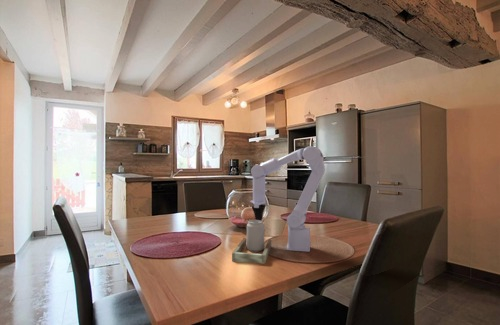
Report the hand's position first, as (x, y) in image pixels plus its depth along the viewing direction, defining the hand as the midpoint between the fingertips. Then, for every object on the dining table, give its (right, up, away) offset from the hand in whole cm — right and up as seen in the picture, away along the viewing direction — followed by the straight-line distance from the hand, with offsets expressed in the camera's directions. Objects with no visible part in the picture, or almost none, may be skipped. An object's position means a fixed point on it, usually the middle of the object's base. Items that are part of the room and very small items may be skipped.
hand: (258, 221), depth 121 cm
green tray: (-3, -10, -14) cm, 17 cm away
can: (-2, -10, -9) cm, 14 cm away
